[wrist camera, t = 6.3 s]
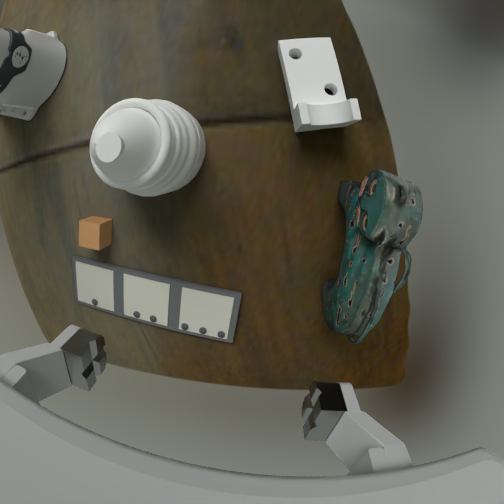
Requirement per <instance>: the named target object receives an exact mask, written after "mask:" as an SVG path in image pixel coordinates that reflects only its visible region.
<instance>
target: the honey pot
mask: <svg viewBox="0 0 504 504" xmlns="http://www.w3.org/2000/svg"><path fill="white" fill-rule="evenodd" d="M205 145H206V142H205V137H204V133H203V130H202V128H201V126H200V124H199V123H198V121H197V120H196V119H195V118H194V117H193V116H192V115H191V114H190V113H189V112H187V111H186V110H184V109H183V108H181V107H180V106H178V105H176V104H174V103H172V102H170V101H165V100H159V99H154V100H146V99H139V98H132V99H125V100H122V101H120V102H118V103H116V104H114V105H113V106H111V107H110V108H109V109H108V110H106V111H105V112H104V114H103V115H102V116H101V117H100V119H99V120H98V122H97V123H96V125H95V127H94V130H93V132H92V136H91V140H90V157H91V162H92V165H93V167H94V169H95V172H96V173H97V175H98V176H99V177H100V178H101V179H102V181H104V182H105V183H107V184H108V185H110V186H111V187H115V188H118V189H125V190H126V191H128V192H129V193H132V194H135V195H139V196H143V197H149V196H158V195H161V194H165V193H168V192H172V191H175V190H178V189H180V188H181V187H183V186H185V185H187V184H188V183H189V182H190V181H191V180H192V179H193V178H194V177H195V176H196V174H197V172H198V171H199V169H200V167H201V166H202V163H203V159H204V156H205Z"/></svg>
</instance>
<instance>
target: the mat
mask: <svg viewBox="0 0 504 504" xmlns="http://www.w3.org/2000/svg"><path fill="white" fill-rule="evenodd" d="M72 270H73V285H74V296H75V302H77V303H80V304H83V305H86V306H89V307H92V308H95V309H99V310H102V311H105V312H108V313H111V314H115V315H118V316H121V317H125V318H128V319H132V320H135V321H139V322H143V323H146V324H150V325H154V326H158V327H162V328H165V329H169V330H174V331H178V332H182V333H186V334H191V335H195V336H200V337H204V338H209V339H214V340H219V341H224V342H229V343H233V338H234V333H235V327H236V322H237V317H238V312H239V306H240V301H241V296H242V292H236V291H231V290H226V289H221V288H216V287H211V286H206V285H201V284H196V283H192V282H187V281H182V280H178V279H173V278H168V277H164V276H159V275H155V274H151V273H146V272H142V271H138V270H133V269H129V268H125V267H121V266H117V265H113V264H109V263H105V262H101V261H97V260H93V259H89V258H85V257H81V256H77V255H73V256H72Z"/></svg>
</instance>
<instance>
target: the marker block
mask: <svg viewBox="0 0 504 504" xmlns="http://www.w3.org/2000/svg"><path fill="white" fill-rule="evenodd" d="M112 220H113V219H108V218H102V217H96V216H91V217H88V218H85V219H82V220H79V246H82V247H86V248H90V249H95V250H101V249H103V248H105V247H106V246H108V245H110V244H112Z"/></svg>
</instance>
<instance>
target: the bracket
mask: <svg viewBox="0 0 504 504" xmlns="http://www.w3.org/2000/svg"><path fill="white" fill-rule="evenodd" d="M278 54H279V58H280V62H281V67H282V71H283V75H284V80H285V85H286V89H287V94H288V99H289V104H290V109H291V114H292V119H293V124H294V129H295V132H303V131H311V130H320V129H326V128H337V127H347V126H349V125H351V124H353V123H355V122H357V121H359V120H361V115H360V110H359V105H358V100H357V99H348V100H346V96H345V91H344V87H343V83H342V78H341V74H340V71H339V67H338V63H337V59H336V56H335V52H334V49H333V45H332V42H331V38H304V39H290V40H279V41H278ZM291 57H296V58H297V59H293V58H291ZM324 88H328V89H330V90H331V91H332V92H333V95H328V94H327V93H326V92H325V90H324Z"/></svg>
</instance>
